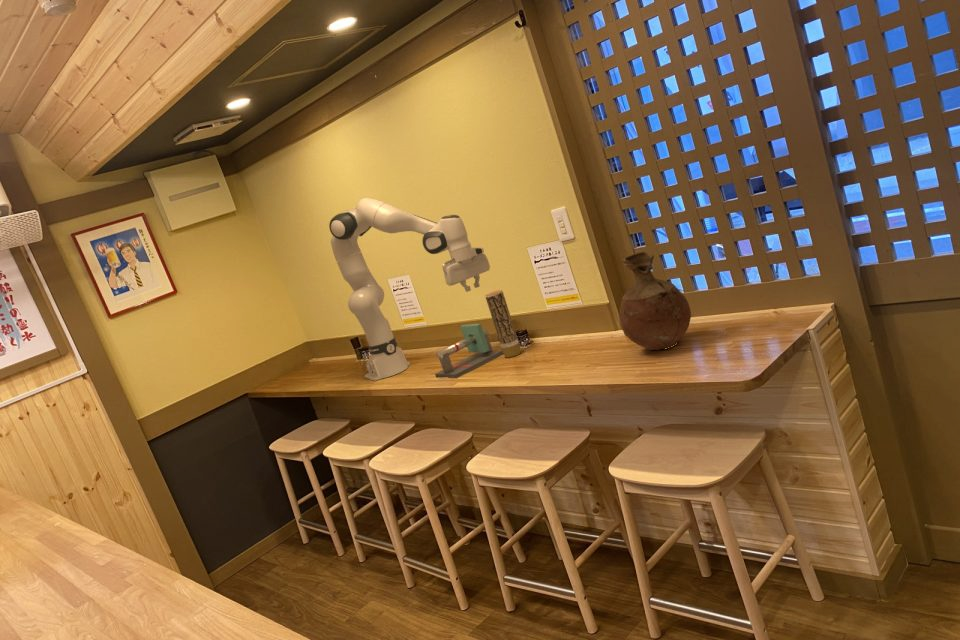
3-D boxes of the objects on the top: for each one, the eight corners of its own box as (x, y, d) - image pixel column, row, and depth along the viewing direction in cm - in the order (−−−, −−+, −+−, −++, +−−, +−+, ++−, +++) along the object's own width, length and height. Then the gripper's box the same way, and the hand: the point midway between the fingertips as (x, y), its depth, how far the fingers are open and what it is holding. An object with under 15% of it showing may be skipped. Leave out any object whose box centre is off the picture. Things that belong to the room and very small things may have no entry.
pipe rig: (442, 374, 275) (434, 351, 274) (488, 350, 289) (481, 329, 287) (447, 374, 272) (440, 351, 270) (494, 350, 286) (487, 328, 284)
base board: (436, 377, 279) (434, 373, 279) (482, 354, 293) (481, 350, 293) (456, 378, 268) (455, 374, 268) (503, 354, 282) (502, 350, 282)
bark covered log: (520, 355, 272) (500, 292, 267) (503, 359, 273) (483, 297, 269) (522, 350, 278) (503, 288, 274) (506, 354, 280) (486, 293, 275)
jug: (648, 363, 214) (620, 267, 208) (617, 353, 235) (591, 265, 229) (711, 339, 218) (686, 243, 213) (675, 330, 239) (652, 243, 233)
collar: (468, 352, 287) (460, 326, 285) (472, 350, 288) (464, 324, 286) (485, 352, 278) (476, 325, 276) (489, 350, 280) (480, 323, 278)
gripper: (445, 262, 272) (457, 297, 275) (486, 246, 284) (496, 280, 286) (436, 264, 277) (447, 298, 280) (476, 248, 289) (487, 281, 291)
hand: (473, 289), depth 283 cm, fingers open, 3 cm apart
